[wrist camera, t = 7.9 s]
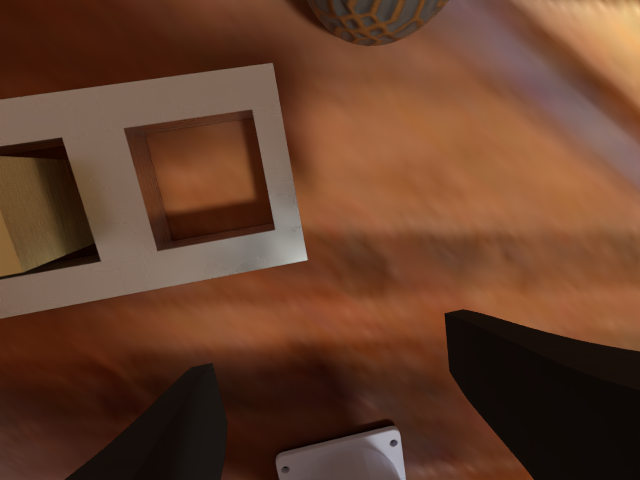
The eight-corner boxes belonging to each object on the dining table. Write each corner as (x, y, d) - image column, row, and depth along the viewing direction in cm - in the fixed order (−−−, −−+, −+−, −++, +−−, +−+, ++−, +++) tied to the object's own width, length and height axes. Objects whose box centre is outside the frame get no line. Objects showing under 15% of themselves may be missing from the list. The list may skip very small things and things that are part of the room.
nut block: (106, 238, 18) (22, 272, 12) (24, 252, 17) (-103, 294, 11) (82, 160, 17) (-21, 155, 11) (-5, 173, 16) (-158, 175, 11)
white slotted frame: (303, 249, 19) (307, 259, 17) (-175, 338, 17) (-247, 365, 15) (272, 77, 17) (272, 62, 15) (-273, 153, 15) (-374, 150, 13)
